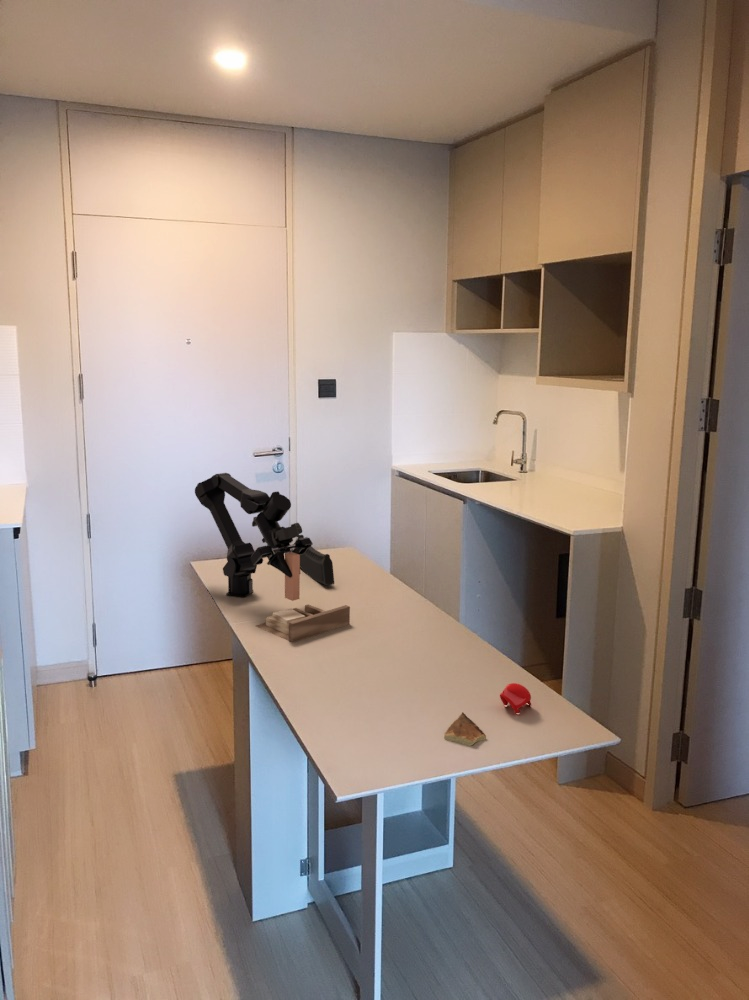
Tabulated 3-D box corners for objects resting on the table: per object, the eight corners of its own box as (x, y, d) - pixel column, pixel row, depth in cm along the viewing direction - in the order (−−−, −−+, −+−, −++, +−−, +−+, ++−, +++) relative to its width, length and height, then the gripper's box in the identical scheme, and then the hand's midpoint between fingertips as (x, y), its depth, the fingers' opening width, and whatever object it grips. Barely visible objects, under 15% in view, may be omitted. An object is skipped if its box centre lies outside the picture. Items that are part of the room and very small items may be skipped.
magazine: (337, 562, 249) (305, 516, 273) (328, 563, 248) (296, 516, 271) (331, 607, 257) (300, 558, 281) (321, 608, 256) (291, 559, 279)
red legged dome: (513, 706, 167) (534, 689, 168) (494, 688, 171) (516, 671, 172) (518, 724, 173) (539, 707, 174) (500, 706, 177) (521, 689, 178)
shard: (462, 718, 169) (462, 710, 169) (496, 727, 166) (497, 719, 165) (442, 740, 160) (442, 732, 159) (478, 750, 156) (478, 742, 156)
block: (284, 597, 227) (284, 553, 224) (291, 595, 229) (291, 552, 226) (292, 600, 225) (292, 556, 222) (299, 598, 226) (299, 554, 224)
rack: (255, 629, 216) (255, 608, 215) (311, 612, 230) (311, 592, 229) (292, 646, 205) (292, 623, 204) (349, 627, 219) (349, 606, 218)
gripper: (256, 519, 218) (281, 567, 213) (308, 510, 231) (333, 554, 226) (239, 541, 225) (263, 588, 220) (291, 531, 238) (315, 575, 233)
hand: (295, 575), depth 224 cm, fingers closed on block, 2 cm apart
